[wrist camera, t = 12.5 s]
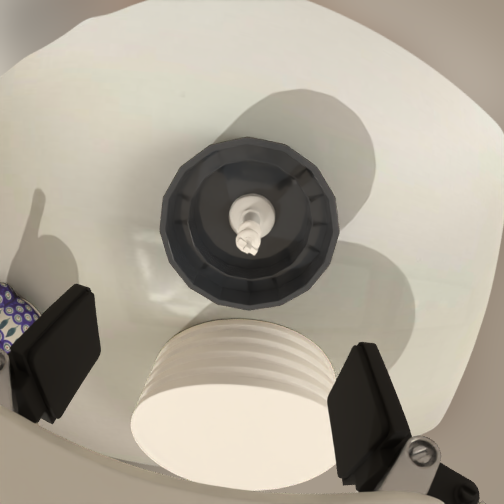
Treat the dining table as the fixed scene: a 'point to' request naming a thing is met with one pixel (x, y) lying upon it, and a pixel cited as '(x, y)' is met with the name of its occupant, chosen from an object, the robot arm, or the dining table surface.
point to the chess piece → (251, 221)
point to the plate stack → (238, 406)
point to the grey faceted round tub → (224, 238)
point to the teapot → (14, 316)
